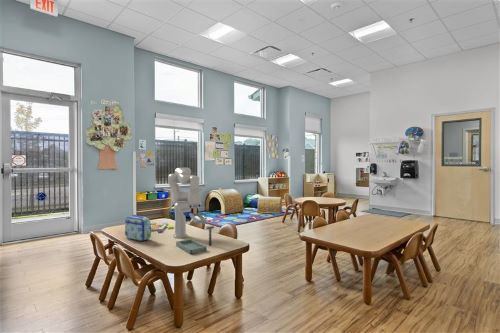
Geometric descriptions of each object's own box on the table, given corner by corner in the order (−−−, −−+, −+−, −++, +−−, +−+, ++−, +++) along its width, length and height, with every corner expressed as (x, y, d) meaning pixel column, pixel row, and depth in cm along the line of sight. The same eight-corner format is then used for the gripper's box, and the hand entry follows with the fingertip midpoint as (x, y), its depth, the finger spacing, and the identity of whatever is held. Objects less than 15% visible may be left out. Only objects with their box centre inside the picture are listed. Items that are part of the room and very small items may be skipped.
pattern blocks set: (138, 226, 293) (138, 223, 293) (171, 223, 305) (171, 221, 305) (138, 235, 258) (138, 232, 258) (174, 232, 270) (174, 229, 270)
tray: (176, 245, 225) (176, 241, 225) (191, 242, 233) (191, 238, 233) (190, 254, 204) (190, 249, 204) (206, 250, 212) (206, 246, 212)
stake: (206, 245, 225) (206, 227, 225) (212, 244, 229) (212, 225, 228) (207, 246, 223) (207, 227, 223) (214, 245, 227) (214, 226, 227)
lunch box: (123, 238, 246) (123, 215, 246) (133, 235, 256) (133, 213, 255) (141, 243, 233) (141, 218, 232) (152, 239, 242) (152, 216, 241)
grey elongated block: (206, 222, 213) (206, 213, 212) (195, 223, 209) (196, 214, 208) (198, 214, 231) (198, 206, 230) (189, 215, 227) (189, 207, 226)
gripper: (202, 190, 234) (202, 211, 234) (183, 190, 226) (183, 212, 227) (205, 191, 227) (205, 212, 228) (185, 191, 220) (185, 214, 220)
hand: (194, 212), depth 227 cm, fingers closed on grey elongated block, 3 cm apart
